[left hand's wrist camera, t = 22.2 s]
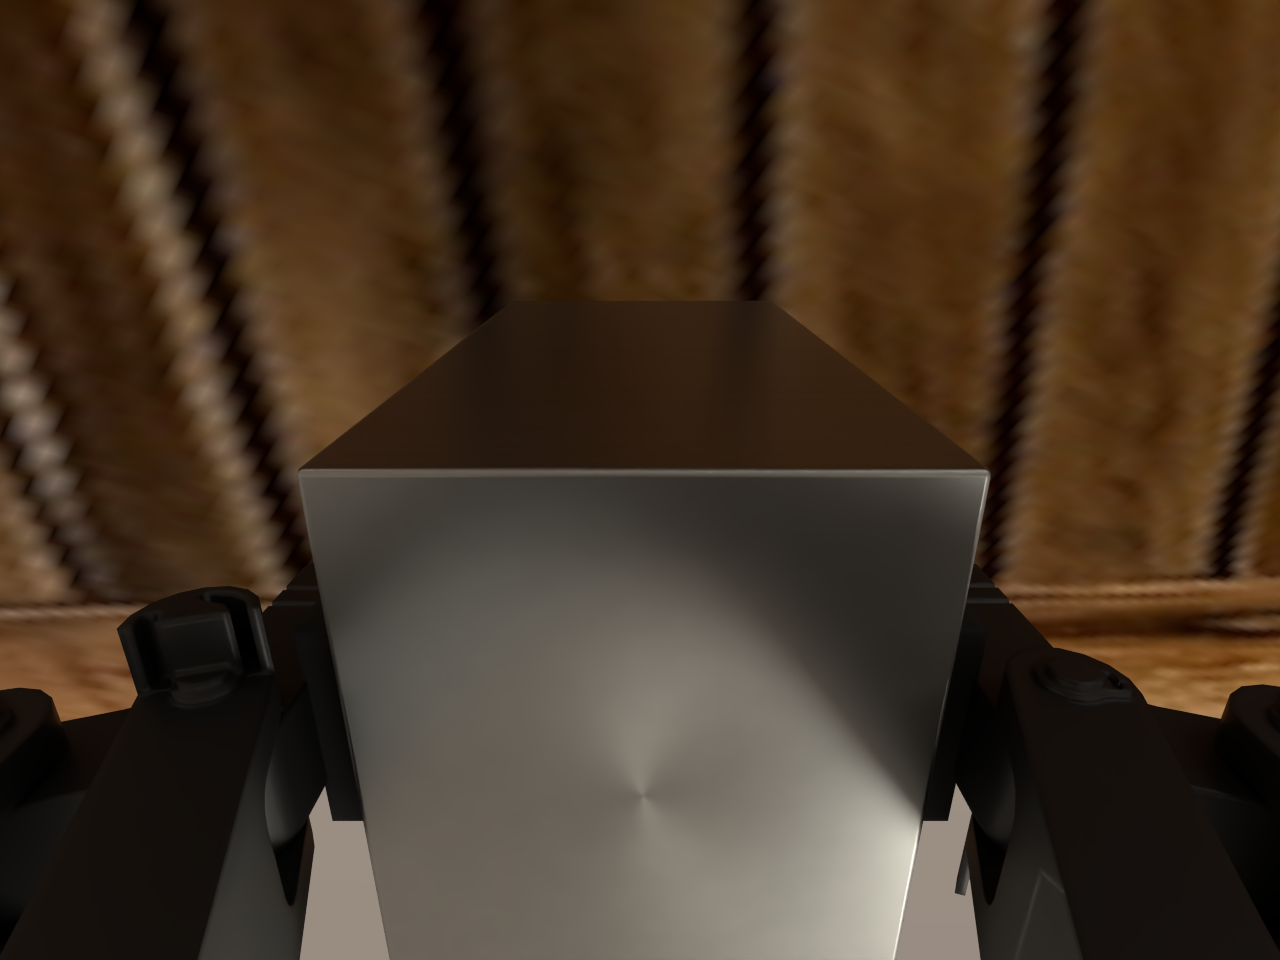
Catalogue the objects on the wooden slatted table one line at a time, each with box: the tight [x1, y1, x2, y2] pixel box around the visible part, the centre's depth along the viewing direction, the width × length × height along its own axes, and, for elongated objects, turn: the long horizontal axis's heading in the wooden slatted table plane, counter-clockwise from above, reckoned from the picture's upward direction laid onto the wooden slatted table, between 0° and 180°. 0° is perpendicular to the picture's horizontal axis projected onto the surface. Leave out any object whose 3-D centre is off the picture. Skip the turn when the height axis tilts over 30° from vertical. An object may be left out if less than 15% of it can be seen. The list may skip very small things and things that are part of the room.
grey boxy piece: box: [297, 301, 990, 960], centre depth 12 cm, size 6×7×11 cm
